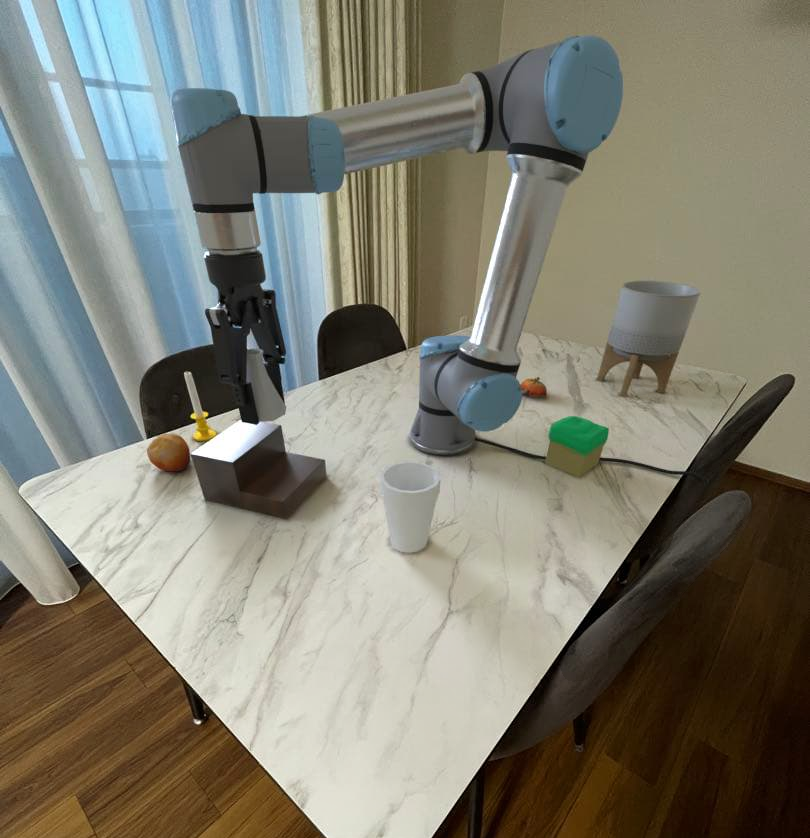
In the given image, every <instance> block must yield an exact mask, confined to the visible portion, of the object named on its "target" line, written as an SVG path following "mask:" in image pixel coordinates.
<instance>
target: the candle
mask: <svg viewBox="0 0 810 838" xmlns="http://www.w3.org/2000/svg"><path fill="white" fill-rule="evenodd" d="M183 375H184V380H185V384H186V388H187V391H188V394H189V397H190V401H191V404H192V408H193V412H192V413H191V415H190V418H191V419H192V420H195V422H196V426H195V431H196V432H195V433H193V440H195V441H197V442H209V441H210V440H212V439H213V438H215V437H216V436H217V435H218V433H217V431H216V430H213V429H211V425H210V424H208V423H207V420H206V418H207V417H208V416H209V412H207V411H203V409H202V405H201V401H200V398H199V394H198V391H197V387H196V384H195V380H194V377H193V374H192V372H191V371H185V372H184V373H183Z"/></svg>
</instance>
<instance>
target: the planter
mask: <svg viewBox="0 0 810 838" xmlns="http://www.w3.org/2000/svg"><path fill="white" fill-rule="evenodd" d="M701 293H702V291H701V289H699V288H697V287H695V286H693V285H688V284H684V283H679V282H672V281H662V280H632V281H631V280H630V281H626V282H624V283H622V285H621V289H620V292H619V296H618V300H617V304H616V307H615V311H614V314H613V318H612V322H611V325H610V329H609V333H608V335H607V336H608V337H607V341H606V344H605V347H604V350H603V351H604V352H603V354H602V355H603V356H602V358H601V363H600V367H599V369H598V373H597V374H598V375H597V378H596V381H600V382H604V381H605V378H606V377H607V374H608V373H609V372H610V370H611V369H613V368H614V367H616V366H617V365H619V364H622V363H626V362H629V363H628V367H627V370H626V373H625V376H624V379H623V383H622V386H621V389H620V393H619V397H624V398H626V396H627V395H628V392H629V388H630V386H631V383H632V380H633V379H637V380H638V379H639V378H640V375H641V372H642V369H643V366H644V365H645V366H647V367H649V368H650V369H651V370H652V372H653V373H654V374H655V376H656V381H657V389H656V393H657V394H664V393H665V391H666V389H667V386H668V383H669V380H670V378H671V375H672V372H673V369H674V366H675V364H676V362H677V358H678V356H679V353H680V350H681V347H682V344H683V341H684V339H685V337H686V334H687V331H688V328H689V325H690V323H691V320H692V317H693V314H694V312H695V309H696V307H697V305H698V301H699V298H700V296H701Z"/></svg>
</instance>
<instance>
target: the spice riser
mask: <svg viewBox="0 0 810 838" xmlns="http://www.w3.org/2000/svg"><path fill="white" fill-rule="evenodd" d="M190 459H191V460H192V461H191V462H192V463H193V464H192V465H193V467H194V470H195V474H196V476H197V480H198V482H199V486H200V490H201V493H202V496H203V499H204V501H208V502H212V503H215V504H216V503H217V504H220V505H224V506H229V507H232V508H236V509H241V510H245V511H249V512H254V513H256V514H262V515H266V516H270V517H274V518H279V519H282V520H288V518H290V516H292V515H293V513H295V511H296V510H297V509H298V508H299V507H300V506H301V505H302V504H303V503H304V501H305V500H306V499H307V498H308V497H309V496H310V495H311V494H312V493H313V492H314V491H315V490H316V489H317V488H318V487H319V485H321V483H322V482H323V481H324V480H325V479H326V478H327V476H328V475H327V467H326V459H323V458H318V457H313V456H308V455H303V454H302V455H301V454H298V453H293V452H287V451H286V445H285V439H284V432H283V427H282V424H277V423H272V422H268V421H266V422H259V424H257V425H254V424H248V423H243V422H242V421H241V419H240V420H238V421H236V422H235V423H234V424H232V425H231V426H229V427H228V428H226V429H225V430H223V431H222V432H220V433H219V434H217V436H216V437H215V438H213V439H212V440H209V441H206V443H204V444H203V445H201V446H199V447H198V448H197V449H195V450H194V451H192V452H191V453H190Z"/></svg>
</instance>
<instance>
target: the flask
mask: <svg viewBox="0 0 810 838" xmlns="http://www.w3.org/2000/svg"><path fill="white" fill-rule="evenodd" d="M246 382H251V385H252V390H253V395H254V400H255V405H256V409H257V414H258V419H259V422H274V421H276V420H278V419H279V418H282V417H283V416H285V415H286V413H287V405H286V403H285V404H284V402H283V400H282V399H281V397H280V395H279V394H278V392H277V390H276V389H275V387H274V385H273V383H272V381H271V380H270V378H269V376H268V374H267V371H266V368H265V366H264V358H263V350H261V349H259V348H247V381H246Z"/></svg>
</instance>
